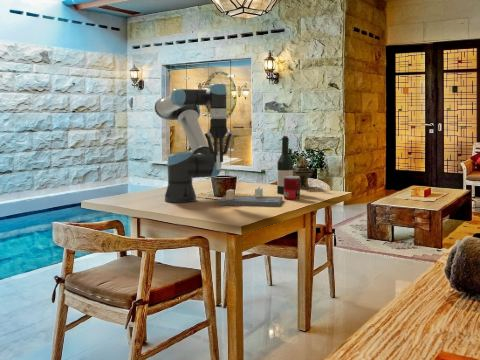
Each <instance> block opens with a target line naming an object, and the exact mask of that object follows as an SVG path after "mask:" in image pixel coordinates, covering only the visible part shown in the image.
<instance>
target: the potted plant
mask: <svg viewBox="0 0 480 360" xmlns="http://www.w3.org/2000/svg"><path fill="white" fill-rule="evenodd" d="M293 155H294V156H295V157H297V158H298V160H297V161H296V165H293V176H299V177H300V190H309V189H311V188H310V185H309V182H308V181H309V177H310V176H311V175H312V173H313V171H312V170H311V169H310V168H309V167H307V166H308V163H307V162H308V161H307V159H306V158H307V156H308V154H307V155H305V157H303V156H302V155H300V156H299V155H296V152H293Z"/></svg>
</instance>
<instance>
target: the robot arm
mask: <svg viewBox="0 0 480 360" xmlns="http://www.w3.org/2000/svg"><path fill="white" fill-rule="evenodd" d="M227 93H228V91H227V85H226V84H225V83H211V84H210V85H209V89H202V88H201V89H200V88H199V89H196V88H195V89H194V88H193V89H191V88H189V89H188V88H174V89H173V90H172V92H171V93H170V95H169V96H167V97H161V98H159V99H157V100H156V101H155V103H154V112H155V113H156V115H157V116H158V117H160V118H161V119H163V120H168V121H177V123H178V124H179V125H180V126H182V128H183V131H184V134H185V137H186V139H187V141H188V145H189V147H190V150H191V151H190V150H189V151H188V150H186V151H178V152H173V153H170V154H169V155H168V157H167V164H166V165H167V187H166V191H165V194H164V201H165V202H168V203H190V202H194V201H196V200H197V194H196V192H195V188H194V186H193V179H195V178H196V179H199V178H214V177H215V178H216V177H218V176H219V175H220V173H221V170H222V163H223V162H224V155H226V154H228V150H229V145H230V142H231V138H232V136H233V133H232V132H230V131H229V130H228V128H227V127H228V126H227V121H228V120H227ZM200 106H206V107H209V117H210V119H209V122H210V123H209V130H208V131H207V132H206V133H203V130H202V128H201V126H200V122H199V118H200V115H201V109H200V108H201V107H200ZM211 136H212V138H213V142H212V138H211ZM225 136H226V141H225V144H224V138H225ZM218 146H219V147H218Z"/></svg>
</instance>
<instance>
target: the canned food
mask: <svg viewBox="0 0 480 360" xmlns="http://www.w3.org/2000/svg"><path fill="white" fill-rule="evenodd" d="M300 198H301V189H300V177H299V176H284V194H283V199H284V200H287V201H288V200H289V201H297V200H300Z"/></svg>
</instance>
